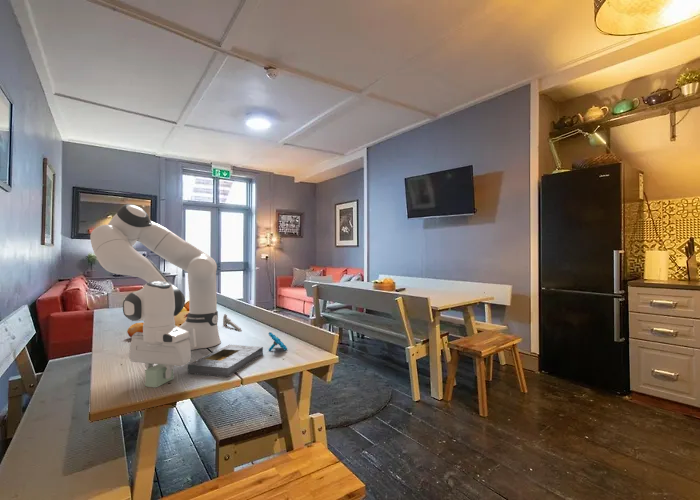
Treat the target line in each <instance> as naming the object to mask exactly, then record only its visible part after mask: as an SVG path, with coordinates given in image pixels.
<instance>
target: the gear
mask: <svg viewBox="0 0 700 500" xmlns="http://www.w3.org/2000/svg"><path fill="white" fill-rule="evenodd" d="M268 335H269V337H270V338H271V340H273V344H272V345H270V347H269V348H268V351H269V352H271V351H272V350H273V349H274V348H275V347H276V346H279V347H280V348H281V349H283V350H284V351H287V350H288V347H287V346H286V345H285V344H284V342H283V341H281V339H280V338H279V337H278V336H276V334H274V333H273V332H269V333H268Z"/></svg>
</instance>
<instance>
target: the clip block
mask: <svg viewBox="0 0 700 500" xmlns="http://www.w3.org/2000/svg"><path fill="white" fill-rule="evenodd" d="M166 370H167V368H166V365H162V364H155V365H153V367H151V368H149V369H146V368H145V369H144V373H145V374H144V375H145V376H144V379H145V381H144V385H145V387H148V388H149V387H150V388H158V387H161V386H162V385H163V384H164V385H165V384H166V383H168V382H170V381H171V380H174V368H173V369H172V371H171V377H170V378H168V379H165V378H163V373H164V372H166Z"/></svg>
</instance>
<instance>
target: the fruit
mask: <svg viewBox="0 0 700 500" xmlns="http://www.w3.org/2000/svg"><path fill="white" fill-rule="evenodd" d="M143 324H144V322H136V323H134V324H131V325H130V326H128V328H127V330H126V333H127V335H128V336H129V337H130V338H131V339H132V336H133V334H135V333H136V332H143Z"/></svg>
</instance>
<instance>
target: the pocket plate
mask: <svg viewBox="0 0 700 500" xmlns="http://www.w3.org/2000/svg"><path fill="white" fill-rule="evenodd" d="M263 355H264V347H263V346H255V345H252V346H251V345H240V344H239V345H237V344H228V345H226V346H224V347H222V348H219V349H217V350H215V351H213V352H211V353H208V354H207V355H204V356H203V357H201V358H198V359H197V360H195V361H193V362H191V363H187V364H188V365H187V367H188V368H187V374H188V375H189V374H191V375H197V376H198V375H200V376H201V375H202V376H209V377H211V376H212V377H221V378H229V377H231V376H232V375H234V374H235V373H237V372H238V371H240V370H242V369H243V368H244V367H246V366H247V365H249V364H250V363H252V362H254V361H256V360H257V359H259V358H260V357H262V356H263Z"/></svg>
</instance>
